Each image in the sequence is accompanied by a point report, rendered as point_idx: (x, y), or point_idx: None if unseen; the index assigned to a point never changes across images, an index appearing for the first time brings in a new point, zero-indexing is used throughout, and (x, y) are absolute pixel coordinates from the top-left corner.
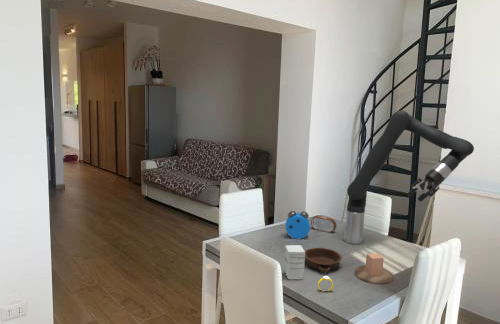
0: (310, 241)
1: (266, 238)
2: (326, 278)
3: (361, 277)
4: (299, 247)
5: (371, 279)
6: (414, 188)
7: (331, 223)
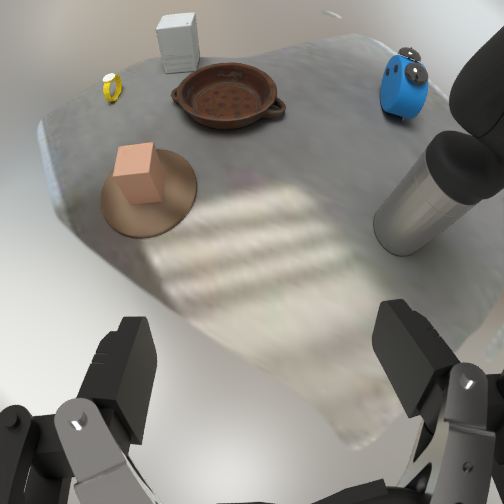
0: (373, 122)
1: (368, 63)
2: (105, 77)
3: None
4: (178, 23)
5: None
6: (443, 396)
7: None
